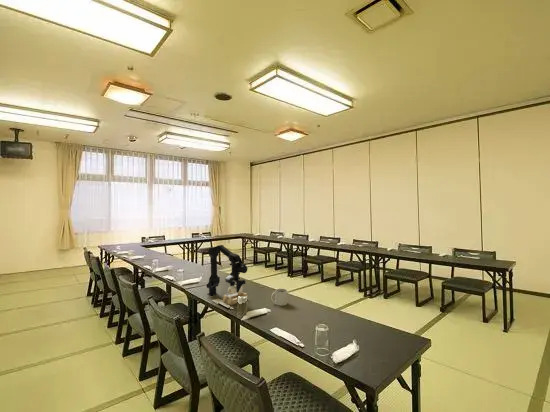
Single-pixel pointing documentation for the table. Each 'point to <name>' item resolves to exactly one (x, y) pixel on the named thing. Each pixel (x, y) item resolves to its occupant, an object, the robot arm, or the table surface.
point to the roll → (234, 289)
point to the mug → (280, 297)
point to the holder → (233, 298)
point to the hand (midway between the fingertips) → (235, 291)
